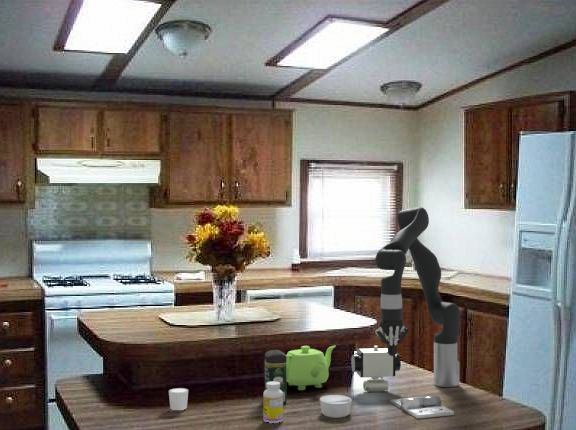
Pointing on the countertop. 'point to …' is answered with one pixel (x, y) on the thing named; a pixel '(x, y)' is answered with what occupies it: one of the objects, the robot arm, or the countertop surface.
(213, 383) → the countertop surface
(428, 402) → the fixed leaf
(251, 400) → the countertop surface
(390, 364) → the ball valve
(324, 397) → the ramekin
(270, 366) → the coffee jar
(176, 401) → the shot glass
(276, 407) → the supplement bottle
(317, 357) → the teapot
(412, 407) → the loose leaf
